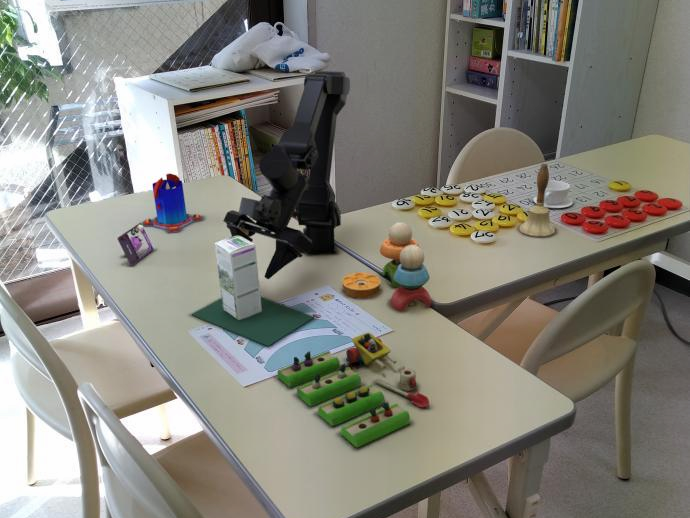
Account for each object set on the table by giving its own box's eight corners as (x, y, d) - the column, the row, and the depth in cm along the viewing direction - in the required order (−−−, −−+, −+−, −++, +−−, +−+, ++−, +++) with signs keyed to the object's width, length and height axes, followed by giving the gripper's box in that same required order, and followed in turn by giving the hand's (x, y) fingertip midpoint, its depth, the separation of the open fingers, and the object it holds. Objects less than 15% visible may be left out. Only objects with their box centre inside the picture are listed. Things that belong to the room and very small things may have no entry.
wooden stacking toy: (333, 283, 155) (332, 227, 148) (407, 268, 161) (409, 213, 154) (370, 322, 141) (370, 262, 134) (449, 304, 147) (453, 245, 140)
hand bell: (516, 234, 175) (523, 168, 167) (522, 221, 182) (530, 157, 173) (552, 239, 173) (561, 172, 164) (557, 226, 179) (566, 161, 171)
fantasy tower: (174, 234, 178) (167, 185, 172) (138, 224, 184) (130, 177, 178) (206, 217, 187) (201, 171, 181) (171, 209, 192) (165, 163, 186)
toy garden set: (276, 378, 125) (274, 355, 123) (368, 342, 135) (367, 320, 132) (356, 448, 109) (356, 423, 107) (454, 403, 118) (456, 379, 116)
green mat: (191, 315, 144) (191, 314, 144) (239, 290, 153) (238, 289, 153) (268, 347, 134) (268, 345, 134) (314, 318, 143) (314, 317, 142)
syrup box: (263, 311, 144) (257, 242, 137) (237, 321, 141) (229, 251, 134) (246, 301, 148) (240, 233, 141) (221, 310, 145) (213, 241, 137)
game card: (120, 237, 160) (143, 221, 168) (102, 241, 163) (125, 226, 170) (134, 265, 163) (156, 248, 170) (116, 269, 165) (138, 253, 173)
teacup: (542, 193, 198) (544, 176, 196) (578, 200, 193) (581, 183, 191) (526, 204, 192) (528, 187, 189) (563, 212, 186) (566, 194, 184)
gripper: (225, 169, 142) (189, 242, 140) (299, 189, 132) (261, 268, 131) (256, 197, 151) (223, 265, 150) (328, 217, 141) (293, 290, 140)
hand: (248, 271), depth 142 cm, fingers open, 9 cm apart
